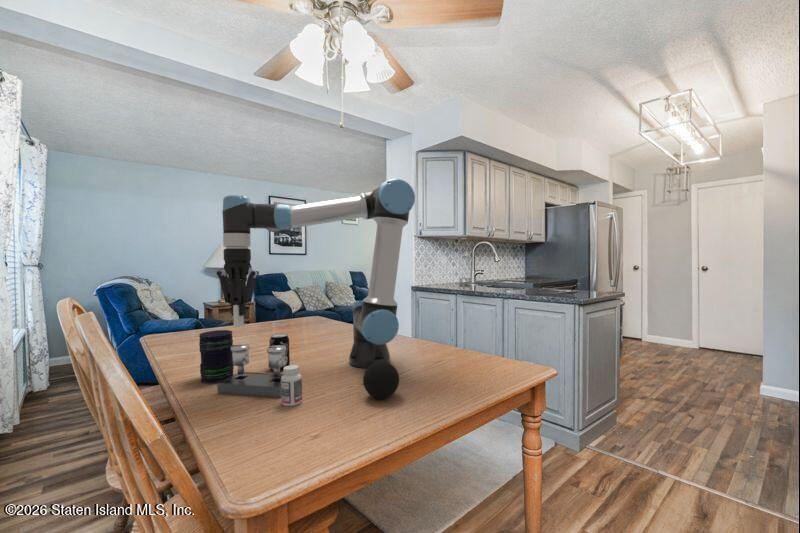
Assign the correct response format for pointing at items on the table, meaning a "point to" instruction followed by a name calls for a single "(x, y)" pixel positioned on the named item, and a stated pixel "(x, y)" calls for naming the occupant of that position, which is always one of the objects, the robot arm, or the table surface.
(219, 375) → the storage jar
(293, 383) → the pill bottle
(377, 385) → the speaker
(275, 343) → the beverage can
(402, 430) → the table surface
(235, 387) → the mount
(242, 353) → the knob
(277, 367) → the knob
